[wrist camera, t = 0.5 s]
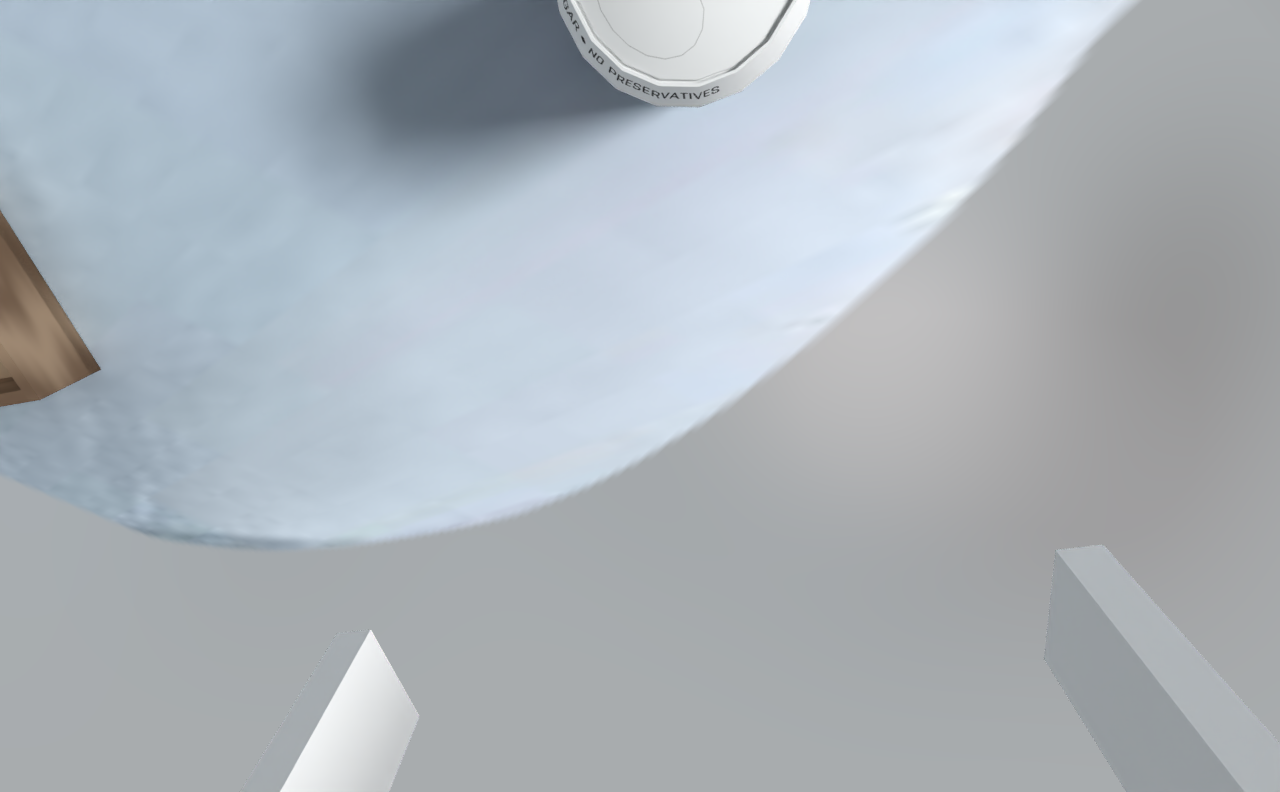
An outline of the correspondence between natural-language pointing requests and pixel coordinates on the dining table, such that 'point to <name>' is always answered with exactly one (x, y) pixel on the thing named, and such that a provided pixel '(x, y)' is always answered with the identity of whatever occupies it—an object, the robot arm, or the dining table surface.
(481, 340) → the dining table surface
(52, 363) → the walnut box
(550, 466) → the dining table surface
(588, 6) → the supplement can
